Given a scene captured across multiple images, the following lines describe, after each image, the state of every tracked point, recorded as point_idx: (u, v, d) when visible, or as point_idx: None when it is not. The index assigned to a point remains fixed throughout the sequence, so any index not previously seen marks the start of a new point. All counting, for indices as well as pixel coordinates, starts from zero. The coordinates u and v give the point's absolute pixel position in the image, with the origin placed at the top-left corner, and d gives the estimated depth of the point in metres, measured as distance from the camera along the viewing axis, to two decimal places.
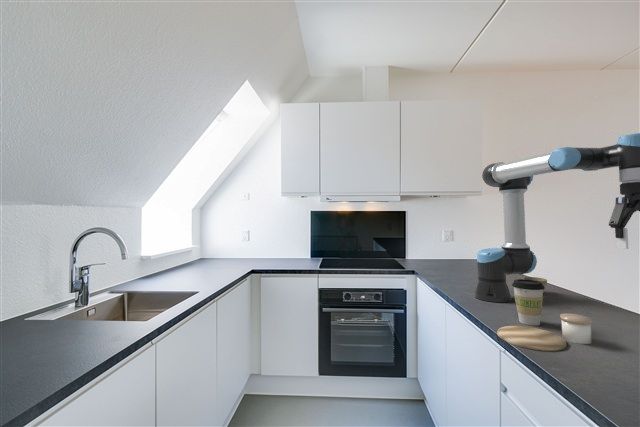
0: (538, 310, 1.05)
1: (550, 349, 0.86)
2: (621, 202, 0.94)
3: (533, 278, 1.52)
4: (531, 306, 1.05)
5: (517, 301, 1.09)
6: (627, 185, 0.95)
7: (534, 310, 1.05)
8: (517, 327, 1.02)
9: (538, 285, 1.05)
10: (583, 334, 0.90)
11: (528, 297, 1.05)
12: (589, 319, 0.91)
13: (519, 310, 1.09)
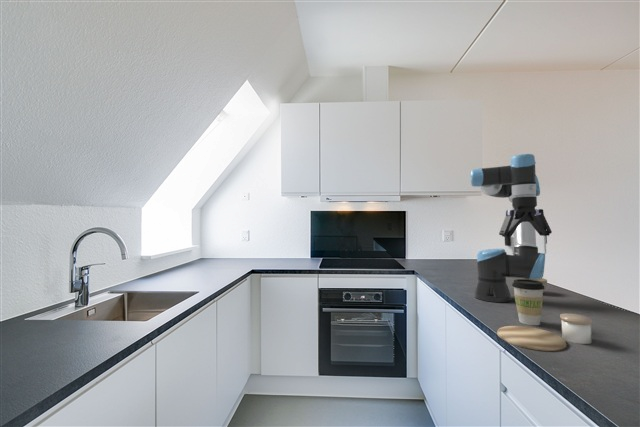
0: (538, 310, 1.05)
1: (550, 349, 0.86)
2: (509, 214, 1.08)
3: None
4: (531, 306, 1.05)
5: (517, 301, 1.09)
6: (515, 199, 1.09)
7: (534, 310, 1.05)
8: (517, 327, 1.02)
9: (538, 285, 1.05)
10: (583, 334, 0.90)
11: (528, 297, 1.05)
12: (589, 319, 0.91)
13: (519, 310, 1.09)
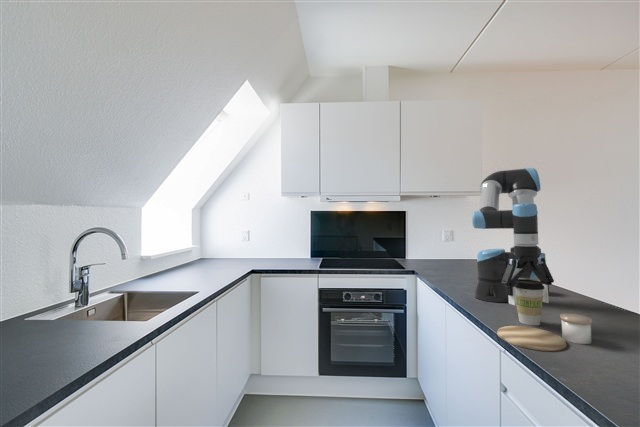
0: (538, 310, 1.05)
1: (550, 349, 0.86)
2: (511, 264, 1.07)
3: None
4: (531, 306, 1.05)
5: (517, 301, 1.09)
6: (517, 248, 1.08)
7: (534, 310, 1.05)
8: (517, 327, 1.02)
9: (538, 285, 1.05)
10: (583, 334, 0.90)
11: (528, 297, 1.05)
12: (589, 319, 0.91)
13: (519, 310, 1.09)
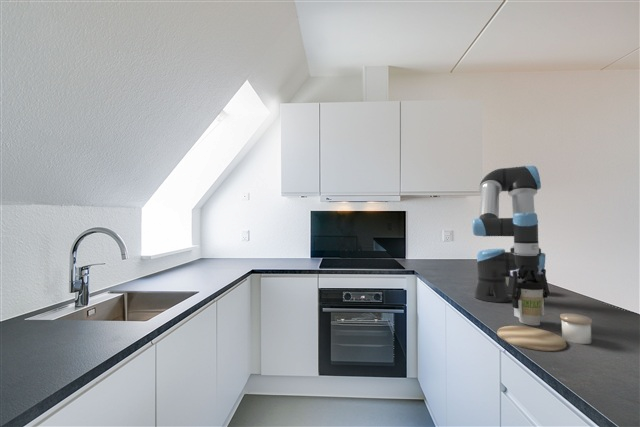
0: (538, 310, 1.05)
1: (550, 349, 0.86)
2: (512, 275, 1.07)
3: None
4: (531, 306, 1.05)
5: None
6: (518, 257, 1.08)
7: (534, 310, 1.05)
8: (517, 327, 1.02)
9: (538, 285, 1.05)
10: (583, 334, 0.90)
11: (528, 297, 1.05)
12: (589, 319, 0.91)
13: None
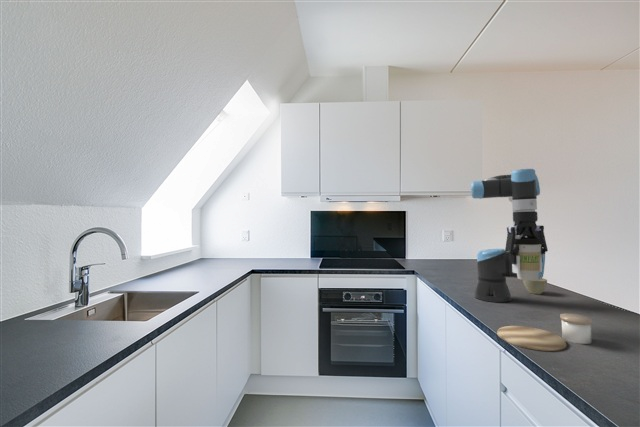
0: (536, 265, 1.06)
1: (550, 349, 0.86)
2: (511, 232, 1.08)
3: None
4: (529, 262, 1.06)
5: None
6: (516, 214, 1.09)
7: (532, 265, 1.05)
8: (517, 327, 1.02)
9: (536, 240, 1.05)
10: (583, 334, 0.90)
11: (526, 253, 1.06)
12: (589, 319, 0.91)
13: None
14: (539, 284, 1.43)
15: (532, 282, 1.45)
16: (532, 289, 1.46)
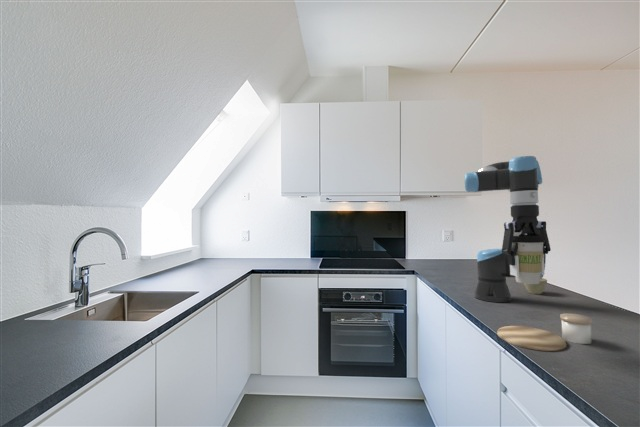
0: (537, 266, 0.92)
1: (550, 349, 0.86)
2: (508, 228, 0.94)
3: None
4: (529, 262, 0.92)
5: None
6: (514, 207, 0.95)
7: (533, 266, 0.91)
8: (517, 327, 1.02)
9: (537, 237, 0.91)
10: (583, 334, 0.90)
11: (526, 252, 0.92)
12: (589, 319, 0.91)
13: None
14: (539, 284, 1.43)
15: None
16: (532, 289, 1.46)
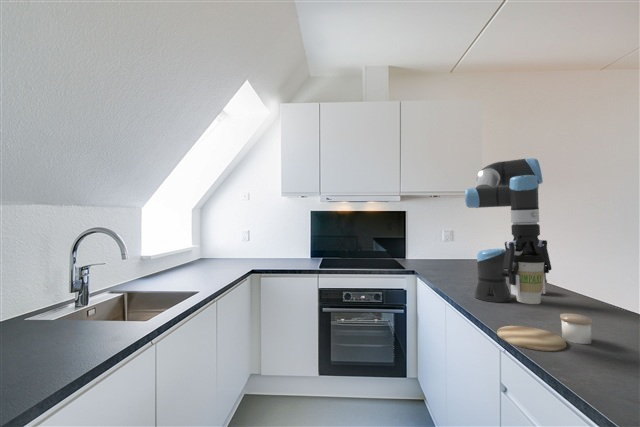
0: (538, 286, 0.91)
1: (550, 349, 0.86)
2: (509, 247, 0.94)
3: None
4: (530, 282, 0.92)
5: None
6: (515, 226, 0.95)
7: (534, 286, 0.91)
8: (517, 327, 1.02)
9: (538, 257, 0.91)
10: (583, 334, 0.90)
11: (527, 272, 0.92)
12: (589, 319, 0.91)
13: None
14: None
15: None
16: None
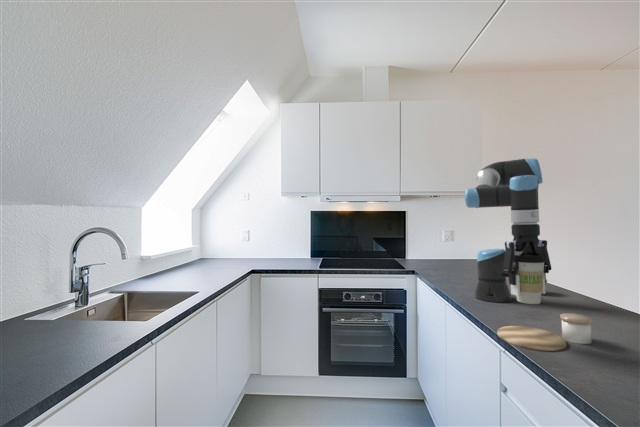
0: (538, 286, 0.91)
1: (550, 349, 0.86)
2: (509, 247, 0.94)
3: None
4: (530, 282, 0.92)
5: None
6: (515, 226, 0.95)
7: (534, 286, 0.91)
8: (517, 327, 1.02)
9: (538, 257, 0.91)
10: (583, 334, 0.90)
11: (527, 272, 0.92)
12: (589, 319, 0.91)
13: None
14: None
15: None
16: None
